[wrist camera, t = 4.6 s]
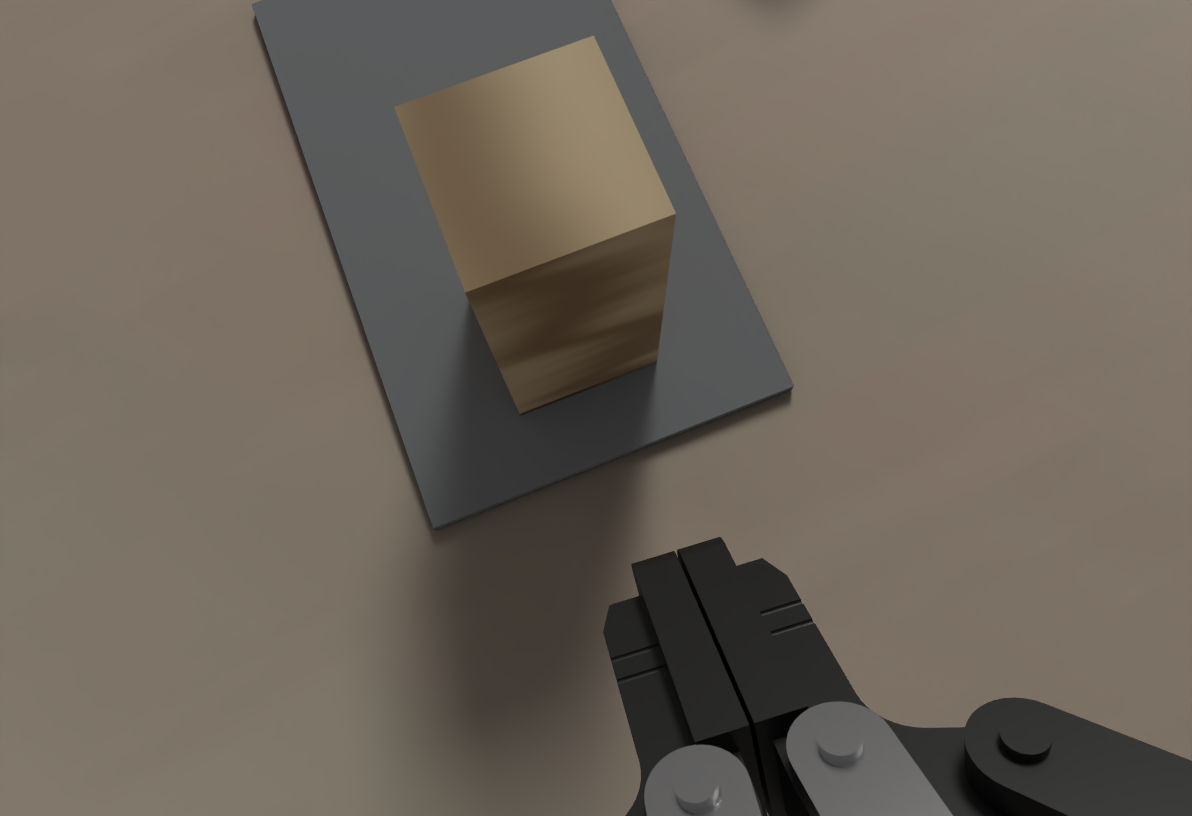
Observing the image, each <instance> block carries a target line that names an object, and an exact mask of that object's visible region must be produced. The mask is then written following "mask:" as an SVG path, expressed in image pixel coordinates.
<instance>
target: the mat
mask: <svg viewBox="0 0 1192 816" xmlns="http://www.w3.org/2000/svg"><path fill="white" fill-rule="evenodd" d="M252 7H253V10H254V12H255V15H256V18H257V21H258V24H259V27H260V30H261V33H262V36H263V38H264V41H265V44H266V47H267V50H268V53H269V56H270V59H271V62H272V64H273V67H274V70H275V73H276V76H277V79H278V82H279V85H280V88H281V90H282V93H283V96H284V99H285V102H286V105H287V108H288V111H289V114H290V116H291V119H292V122H293V125H294V128H295V131H296V134H297V137H298V140H299V142H300V145H301V148H302V151H303V154H304V157H305V160H306V163H307V166H308V168H309V171H310V174H311V177H312V180H313V183H314V186H315V189H316V192H317V194H318V197H319V200H320V203H321V206H322V209H323V212H324V215H325V218H326V220H327V223H328V226H329V229H330V232H331V235H332V238H333V241H334V244H335V246H336V249H337V252H338V255H339V258H340V261H341V264H342V267H343V270H344V272H345V275H346V278H347V281H348V284H349V287H350V290H351V293H352V296H353V298H354V301H355V304H356V307H357V310H358V313H359V316H360V319H361V322H362V324H363V327H364V330H365V333H366V336H367V339H368V342H369V345H370V348H371V350H372V353H373V356H374V359H375V362H376V365H377V368H378V371H379V374H380V376H381V379H382V382H383V385H384V388H385V391H386V394H387V397H388V400H389V402H390V405H391V408H392V411H393V414H394V417H395V420H396V423H397V426H398V428H399V431H400V434H401V437H402V440H403V443H404V446H405V449H406V452H407V454H408V457H409V460H410V463H411V466H412V469H413V472H414V475H415V478H416V480H417V483H418V486H419V489H420V492H421V495H422V498H423V501H424V504H425V506H426V509H427V512H428V515H429V518H430V521H431V524H432V527H433V529H435V530H436V529H439V528H441V527H444V526H446V525H449V524H451V523H454V522H456V521H459V520H462V519H464V518H467V517H469V516H472V515H474V514H477V513H479V512H482V511H484V510H487V509H489V508H492V507H495V506H497V505H500V504H502V503H505V502H507V501H510V500H512V499H515V498H517V497H520V496H522V495H525V494H527V493H530V492H533V491H535V490H538V489H540V488H543V487H545V486H548V485H550V484H553V483H555V482H558V481H560V480H563V479H566V478H568V477H571V476H573V475H576V474H578V473H581V472H583V471H586V470H588V469H591V468H593V467H596V466H598V465H601V464H604V463H606V462H609V461H611V460H614V459H616V458H619V457H621V456H624V455H626V454H629V453H631V452H634V451H637V450H639V449H642V448H644V447H647V446H649V445H652V444H654V443H657V442H659V441H662V440H664V439H667V438H669V437H672V436H675V435H677V434H680V433H682V432H685V431H687V430H690V429H692V428H695V427H697V426H700V425H702V424H705V423H708V422H710V421H713V420H715V419H718V418H720V417H723V416H725V415H728V414H730V413H733V412H735V411H738V410H740V409H743V408H746V407H748V406H751V405H753V404H756V403H758V402H761V401H763V400H766V399H768V398H771V397H773V396H776V395H779V394H781V393H784V392H786V391H789V390H791V389H792V388H793V387H794V385H793V383H792V381H791V379H790V377H789V374H788V372H787V370H786V368H785V366H784V364H783V362H782V360H781V358H780V355H779V353H778V351H777V349H776V347H775V345H774V343H773V341H772V339H771V336H770V334H769V332H768V330H767V328H766V326H765V324H764V322H763V320H762V318H761V315H760V313H759V311H758V309H757V307H756V305H755V303H754V301H753V299H752V296H751V294H750V292H749V290H748V288H747V286H746V284H745V282H744V280H743V277H742V275H741V273H740V271H739V269H738V267H737V265H736V263H735V261H734V259H733V256H732V254H731V252H730V250H729V248H728V246H727V244H726V242H725V240H724V237H723V235H722V233H721V231H720V229H719V227H718V225H717V223H716V221H715V218H714V216H713V214H712V212H711V210H710V208H709V206H708V204H707V202H706V200H705V197H704V195H703V193H702V191H701V189H700V187H699V185H698V183H697V181H696V178H695V176H694V174H693V172H692V170H691V168H690V166H689V164H688V162H687V159H686V157H685V155H684V153H683V151H682V149H681V147H680V145H679V143H678V141H677V138H676V136H675V134H674V132H673V130H672V128H671V126H670V124H669V122H668V119H667V117H666V115H665V113H664V111H663V109H662V107H661V105H660V103H659V100H658V98H657V96H656V94H655V92H654V90H653V88H652V86H651V84H650V82H649V79H648V77H647V75H646V73H645V71H644V69H643V67H642V65H641V63H640V60H639V58H638V56H637V54H636V52H635V50H634V48H633V46H632V44H631V41H630V39H629V37H628V35H627V33H626V31H625V29H624V27H623V25H622V23H621V20H620V18H619V16H618V14H617V12H616V10H615V8H614V6H613V4H612V1H611V0H262V1H260V2H257V3H254V4H252ZM591 36H594V37H595V39H596V41H597V44H598V46H599V48H600V50H601V52H602V54H603V57H604V59H605V61H606V63H607V65H608V67H609V70H610V72H611V74H612V76H613V78H614V80H615V83H616V85H617V87H618V89H619V91H620V93H621V96H622V98H623V100H624V102H625V104H626V106H627V108H628V111H629V113H630V115H631V117H632V119H633V121H634V124H635V126H636V128H637V130H638V132H639V134H640V137H641V139H642V141H643V143H644V145H645V147H646V150H647V152H648V154H649V156H650V158H651V160H652V163H653V165H654V167H655V169H656V171H657V173H658V175H659V178H660V180H661V182H662V184H663V186H664V188H665V191H666V193H667V195H668V197H669V199H670V201H671V204H672V206H673V208H674V210H675V212H676V218H675V225H674V233H673V241H672V249H671V256H670V264H669V272H668V280H667V287H666V295H665V303H664V310H663V318H662V326H661V334H660V341H659V349H658V357H657V363H656V364H653V365H651V366H648V367H645V368H643V369H640V370H638V371H635V372H633V373H630V374H627V375H625V376H622V377H620V378H617V379H614V380H612V381H609V382H607V383H604V384H602V385H599V386H596V387H594V388H591V389H589V390H586V391H584V392H581V393H578V394H576V395H573V396H571V397H568V398H565V399H563V400H560V401H558V402H555V403H553V404H550V405H547V406H545V407H542V408H540V409H537V410H535V411H532V412H529V413H527V414H524V415H522V416H520V414H519V412H518V409H517V407H516V405H515V403H514V401H513V398H512V396H511V394H510V392H509V389H508V387H507V385H506V383H505V380H504V378H503V376H502V374H501V372H500V369H499V367H498V365H497V363H496V360H495V358H494V356H493V354H492V351H491V349H490V347H489V345H488V343H487V340H486V338H485V336H484V334H483V331H482V329H481V327H480V325H479V322H478V320H477V318H476V316H475V314H474V311H473V309H472V307H471V305H470V302H469V300H468V298H467V296H466V294H465V291H464V288H463V286H462V283H461V281H460V278H459V275H458V273H457V270H456V268H455V265H454V262H453V260H452V257H451V254H450V252H449V249H448V247H447V244H446V241H445V239H444V236H443V234H442V231H441V228H440V226H439V223H438V221H437V218H436V215H435V213H434V210H433V207H432V205H431V202H430V200H429V197H428V194H427V192H426V189H425V187H424V184H423V181H422V179H421V176H420V173H419V171H418V168H417V166H416V163H415V160H414V158H413V155H412V153H411V150H410V147H409V145H408V142H407V140H406V137H405V134H404V132H403V129H402V126H401V124H400V121H399V119H398V116H397V113H396V111H395V108H394V107H395V106H398V105H401V104H404V103H406V102H409V101H412V100H415V99H418V98H420V97H423V96H426V95H429V94H432V93H434V92H437V91H440V90H443V89H446V88H448V87H451V86H454V85H457V84H459V83H462V82H465V81H468V80H471V79H473V78H476V77H479V76H482V75H485V74H487V73H490V72H493V71H496V70H499V69H501V68H504V67H507V66H510V65H513V64H515V63H518V62H521V61H524V60H527V59H529V58H532V57H535V56H538V55H540V54H543V53H546V52H549V51H552V50H554V49H557V48H560V47H563V46H566V45H568V44H571V43H574V42H577V41H580V40H582V39H585V38H588V37H591Z"/></svg>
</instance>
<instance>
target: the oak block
mask: <svg viewBox="0 0 1192 816" xmlns="http://www.w3.org/2000/svg"><path fill="white" fill-rule="evenodd" d="M394 108H395V111H396V113H397V116H398V119H399V121H400V124H401V126H402V129H403V132H404V134H405V137H406V140H407V142H408V145H409V147H410V150H411V153H412V155H413V158H414V160H415V163H416V166H417V168H418V171H419V173H420V176H421V179H422V181H423V184H424V187H425V189H426V192H427V194H428V197H429V200H430V202H431V205H432V207H433V210H434V213H435V215H436V218H437V221H438V223H439V226H440V228H441V231H442V234H443V236H444V239H445V241H446V244H447V247H448V249H449V252H450V254H451V257H452V260H453V262H454V265H455V268H456V270H457V273H458V275H459V278H460V281H461V283H462V286H463V288H464V291H465V294H466V296H467V298H468V300H469V302H470V305H471V307H472V309H473V311H474V314H475V316H476V318H477V320H478V322H479V325H480V327H481V329H482V331H483V334H484V336H485V338H486V340H487V343H488V345H489V347H490V349H491V351H492V354H493V356H494V358H495V360H496V363H497V365H498V367H499V369H500V372H501V374H502V376H503V378H504V380H505V383H506V385H507V387H508V389H509V392H510V394H511V396H512V398H513V401H514V403H515V405H516V407H517V409H518V412H519V414H520V416H522V415H524V414H527V413H529V412H532V411H535V410H537V409H540V408H542V407H545V406H547V405H550V404H553V403H555V402H558V401H560V400H563V399H565V398H568V397H571V396H573V395H576V394H578V393H581V392H584V391H586V390H589V389H591V388H594V387H596V386H599V385H602V384H604V383H607V382H609V381H612V380H614V379H617V378H620V377H622V376H625V375H627V374H630V373H633V372H635V371H638V370H640V369H643V368H645V367H648V366H651V365H653V364H656V363H657V357H658V349H659V341H660V334H661V326H662V318H663V310H664V303H665V295H666V287H667V280H668V272H669V264H670V256H671V249H672V241H673V233H674V225H675V218H676V212H675V210H674V208H673V206H672V204H671V201H670V199H669V197H668V195H667V193H666V191H665V188H664V186H663V184H662V182H661V180H660V178H659V175H658V173H657V171H656V169H655V167H654V165H653V163H652V160H651V158H650V156H649V154H648V152H647V150H646V147H645V145H644V143H643V141H642V139H641V137H640V134H639V132H638V130H637V128H636V126H635V124H634V121H633V119H632V117H631V115H630V113H629V111H628V108H627V106H626V104H625V102H624V100H623V98H622V96H621V93H620V91H619V89H618V87H617V85H616V83H615V80H614V78H613V76H612V74H611V72H610V70H609V67H608V65H607V63H606V61H605V59H604V57H603V54H602V52H601V50H600V48H599V46H598V44H597V41H596V39H595V37H594V36H591V37H588V38H585V39H582V40H580V41H577V42H574V43H571V44H568V45H566V46H563V47H560V48H557V49H554V50H552V51H549V52H546V53H543V54H540V55H538V56H535V57H532V58H529V59H527V60H524V61H521V62H518V63H515V64H513V65H510V66H507V67H504V68H501V69H499V70H496V71H493V72H490V73H487V74H485V75H482V76H479V77H476V78H473V79H471V80H468V81H465V82H462V83H459V84H457V85H454V86H451V87H448V88H446V89H443V90H440V91H437V92H434V93H432V94H429V95H426V96H423V97H420V98H418V99H415V100H412V101H409V102H406V103H404V104H401V105H398V106H395V107H394Z"/></svg>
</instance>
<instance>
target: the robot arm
mask: <svg viewBox="0 0 1192 816" xmlns="http://www.w3.org/2000/svg"><path fill="white" fill-rule="evenodd" d="M677 555H678V557H677ZM677 555H676V553H675V552H674V551H673V552H669V553H666V554H663V555H659V556H656V557H653V558H650V559H646V560H643V561H640V562H636V563H633V564H631V565H632V570H633V574H634V578H635V582H636V585H637V589H638V593H639V596H638V597H635V598H631V599H628V600H625V601H621V602H618V603H615V604H612V605H610V606H609V610H608V614H607V618H606V622H605V627H604V631H603V633H604V636H605V640H606V644H607V647H608V651H609V654H610V658H611V661H612V665H613V669H614V672H615V676H616V679H617V683H618V687H619V690H620V694H621V697H622V701H623V705H624V708H625V712H626V715H627V719H628V723H629V726H630V730H631V733H632V737H633V741H634V744H635V748H636V751H637V755H638V758H639V762H640V767H641V783H640V789H639V792H638V795H637V798H636V800H635V802H634V804H633V806H632V807H631V809H630V810H629V812H628V813H627V815H626V816H768V815H769V816H1192V761H1190V760H1188V759H1185V758H1183V757H1180V756H1178V755H1175V754H1173V753H1170V752H1167V751H1165V750H1162V749H1160V748H1157V747H1155V746H1152V745H1149V744H1147V743H1144V742H1142V741H1139V740H1137V739H1134V738H1131V737H1129V736H1126V735H1124V734H1121V733H1119V732H1116V731H1113V730H1111V729H1108V728H1106V727H1103V726H1101V725H1098V724H1095V723H1093V722H1090V721H1088V720H1085V719H1083V718H1080V717H1077V716H1075V715H1072V714H1070V713H1067V712H1065V711H1062V710H1059V709H1057V708H1054V707H1052V706H1049V705H1047V704H1044V703H1041V702H1038V701H1035V700H1030V699H1024V698H1003V699H998V700H994V701H991V702H988V703H986V704H984V705H983V706H981V707H979V708H978V709H977V710H976V711H975V712H973V713H972V715H971V716H970V718H969V719H968V721H967V724H966V726H965V727H962V728H916V727H909V726H904V725H900V724H897V723H893V722H891V721H889V720H886V719H884V718H882V717H881V716H879V715H878V714H877V713H875V712H873V711H872V710H870V709H869V708H868V707H867V706H866V705H865V704H864V703H863V702H862V701H861V700H860V699H859V697H858V696H857V694H856V693H855V691H854V689H853V688H852V686H851V684H850V683H849V681H848V679H847V677H846V676H845V674H844V672H843V671H842V669H841V667H840V665H839V664H838V662H837V660H836V659H835V657H834V655H833V654H832V652H831V650H830V648H829V647H828V645H827V643H826V642H825V640H824V638H823V636H822V635H821V633H820V631H819V630H818V628H817V626H816V624H815V623H813V621H812V618H811V616H810V614H809V612H808V611H807V609H806V607H805V606H804V604H802V602H801V599H800V597H799V595H798V594H797V592H796V590H795V589H794V587H793V585H792V583H791V582H790V580H789V578H788V577H787V575H786V574H784V573H783V572H781V571H780V570H778V569H777V568H775V567H774V566H773V565H771V564H770V563H768V562H767V561H765V560H764V559H762V558H761V559H758V560H755V561H751V562H748V563H745V564H742V565H738V566H736V564H735V562H734V560H733V559H732V557H731V555H730V553H729V551H728V549H727V547H726V545H725V543H724V541H723V540H722V538H721V537H718V538H715V539H711V540H708V541H705V542H701V543H698V544H695V545H692V546H688V547H685V548H682V549H678V550H677ZM767 813H768V815H767Z"/></svg>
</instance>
